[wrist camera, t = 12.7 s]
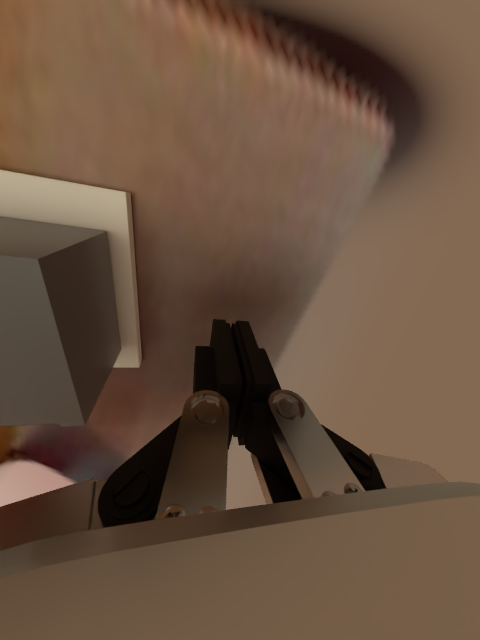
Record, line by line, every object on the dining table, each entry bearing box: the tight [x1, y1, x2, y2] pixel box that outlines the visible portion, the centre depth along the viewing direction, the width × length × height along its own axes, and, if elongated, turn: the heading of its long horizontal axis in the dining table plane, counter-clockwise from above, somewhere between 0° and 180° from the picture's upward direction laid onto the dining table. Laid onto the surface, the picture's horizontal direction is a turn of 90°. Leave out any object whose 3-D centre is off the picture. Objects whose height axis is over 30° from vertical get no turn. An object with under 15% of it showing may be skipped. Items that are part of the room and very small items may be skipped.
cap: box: [0, 216, 122, 427], centre depth 10 cm, size 8×6×6 cm
